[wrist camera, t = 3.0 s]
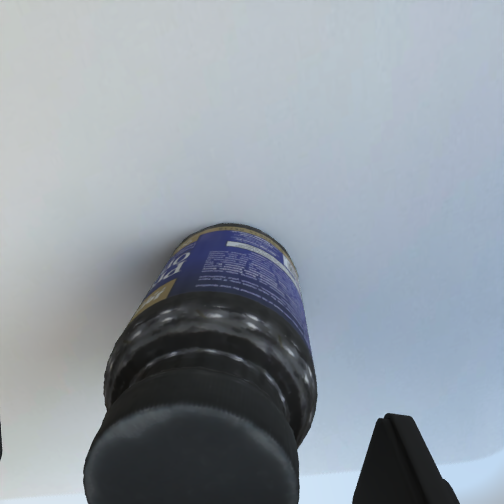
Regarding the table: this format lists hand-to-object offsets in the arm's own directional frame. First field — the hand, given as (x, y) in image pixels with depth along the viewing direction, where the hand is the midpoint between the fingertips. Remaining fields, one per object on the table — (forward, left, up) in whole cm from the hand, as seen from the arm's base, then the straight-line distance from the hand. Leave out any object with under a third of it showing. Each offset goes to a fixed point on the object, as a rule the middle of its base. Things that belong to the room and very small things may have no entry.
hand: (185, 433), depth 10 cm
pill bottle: (0, 0, -10) cm, 10 cm away
